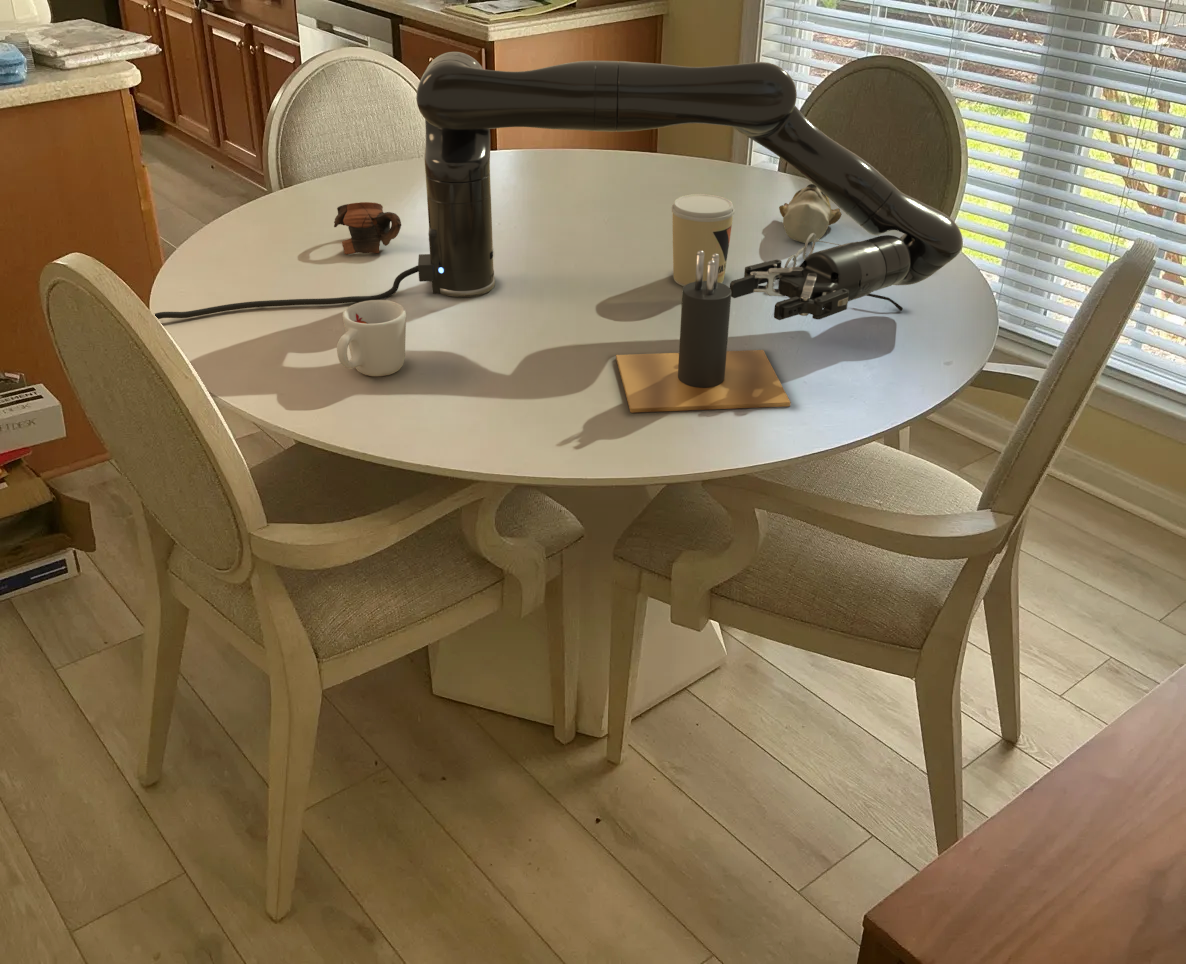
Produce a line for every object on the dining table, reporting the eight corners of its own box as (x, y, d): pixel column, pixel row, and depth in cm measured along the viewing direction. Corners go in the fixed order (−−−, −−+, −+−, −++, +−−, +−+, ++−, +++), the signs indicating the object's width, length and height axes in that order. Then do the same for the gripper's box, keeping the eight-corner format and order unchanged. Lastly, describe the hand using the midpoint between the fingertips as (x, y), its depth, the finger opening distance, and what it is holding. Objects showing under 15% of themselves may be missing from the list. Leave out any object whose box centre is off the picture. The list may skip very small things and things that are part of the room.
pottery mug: (325, 257, 185) (320, 206, 185) (356, 264, 194) (351, 215, 194) (391, 246, 181) (386, 193, 181) (420, 254, 190) (415, 203, 190)
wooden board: (630, 412, 142) (630, 408, 141) (615, 358, 154) (616, 354, 154) (790, 406, 143) (790, 402, 143) (762, 353, 156) (763, 349, 156)
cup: (367, 396, 144) (361, 338, 140) (320, 380, 148) (313, 323, 144) (422, 364, 152) (418, 308, 148) (376, 349, 156) (371, 294, 151)
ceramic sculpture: (775, 191, 186) (785, 169, 199) (769, 243, 191) (779, 219, 203) (841, 198, 184) (847, 176, 197) (834, 251, 188) (840, 226, 201)
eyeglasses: (811, 250, 189) (814, 227, 187) (926, 273, 182) (931, 249, 180) (777, 289, 175) (780, 264, 173) (901, 315, 169) (906, 289, 166)
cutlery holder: (681, 388, 146) (689, 261, 137) (674, 367, 151) (680, 243, 142) (728, 387, 146) (739, 260, 137) (719, 366, 151) (729, 242, 142)
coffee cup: (725, 293, 173) (731, 216, 167) (663, 288, 175) (667, 211, 169) (732, 270, 181) (737, 195, 175) (672, 265, 183) (676, 191, 176)
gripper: (808, 231, 158) (718, 256, 150) (887, 263, 149) (795, 291, 141) (803, 283, 162) (715, 309, 154) (879, 317, 153) (789, 347, 145)
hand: (753, 300), depth 148 cm, fingers open, 8 cm apart
